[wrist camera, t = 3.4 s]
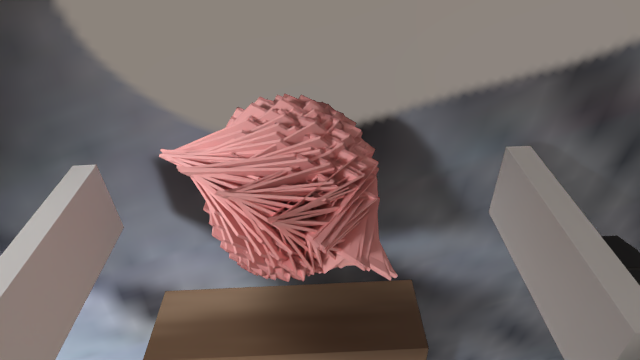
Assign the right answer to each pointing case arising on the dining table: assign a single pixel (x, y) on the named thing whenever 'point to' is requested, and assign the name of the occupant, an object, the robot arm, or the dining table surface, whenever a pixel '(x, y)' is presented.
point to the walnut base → (291, 323)
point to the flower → (289, 189)
